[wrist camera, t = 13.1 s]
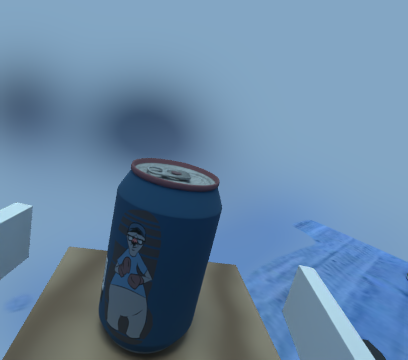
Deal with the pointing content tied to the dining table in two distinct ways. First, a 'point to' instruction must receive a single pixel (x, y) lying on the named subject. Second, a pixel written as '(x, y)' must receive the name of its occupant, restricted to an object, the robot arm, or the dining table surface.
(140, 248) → the soda can
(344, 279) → the dining table surface
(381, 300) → the dining table surface
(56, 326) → the shelf
